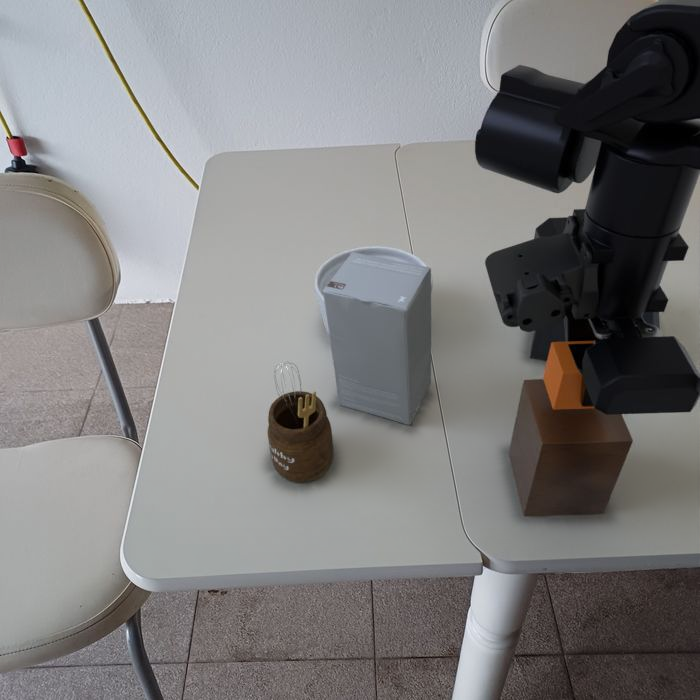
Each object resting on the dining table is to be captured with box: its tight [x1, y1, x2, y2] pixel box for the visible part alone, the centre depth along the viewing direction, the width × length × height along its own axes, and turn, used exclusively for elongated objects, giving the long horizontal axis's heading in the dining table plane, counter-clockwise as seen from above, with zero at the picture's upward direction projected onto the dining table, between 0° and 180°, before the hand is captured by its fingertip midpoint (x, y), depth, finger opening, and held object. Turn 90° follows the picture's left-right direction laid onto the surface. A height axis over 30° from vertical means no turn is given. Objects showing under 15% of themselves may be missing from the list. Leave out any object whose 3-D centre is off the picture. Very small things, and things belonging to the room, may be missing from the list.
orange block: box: [542, 341, 594, 410], centre depth 50 cm, size 5×4×4 cm
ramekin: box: [313, 245, 433, 334], centre depth 74 cm, size 13×13×7 cm
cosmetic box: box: [323, 252, 432, 425], centre depth 62 cm, size 8×7×16 cm
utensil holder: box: [267, 361, 334, 483], centre depth 58 cm, size 6×6×12 cm
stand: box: [508, 378, 634, 517], centre depth 56 cm, size 7×7×10 cm
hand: (580, 386), depth 51 cm, fingers closed on orange block, 3 cm apart
